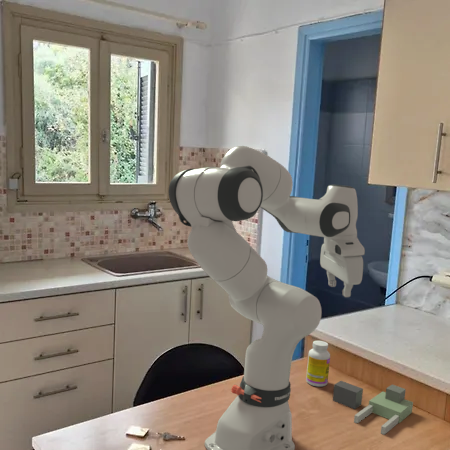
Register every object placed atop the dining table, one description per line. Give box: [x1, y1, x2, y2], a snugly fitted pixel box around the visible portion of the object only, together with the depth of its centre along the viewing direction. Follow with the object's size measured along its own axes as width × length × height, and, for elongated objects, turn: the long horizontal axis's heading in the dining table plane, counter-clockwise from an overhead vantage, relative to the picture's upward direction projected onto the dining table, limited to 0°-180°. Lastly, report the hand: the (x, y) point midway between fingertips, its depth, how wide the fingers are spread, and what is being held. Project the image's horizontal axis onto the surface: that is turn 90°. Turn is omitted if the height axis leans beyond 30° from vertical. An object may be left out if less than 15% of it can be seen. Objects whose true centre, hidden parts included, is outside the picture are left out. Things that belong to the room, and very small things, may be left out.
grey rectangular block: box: [332, 380, 364, 410], centre depth 148 cm, size 7×4×5 cm, turn 49°
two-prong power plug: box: [353, 384, 414, 436], centre depth 141 cm, size 18×9×6 cm, turn 139°
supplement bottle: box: [305, 340, 331, 387], centre depth 160 cm, size 7×7×13 cm
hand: (339, 291), depth 145 cm, fingers open, 8 cm apart
